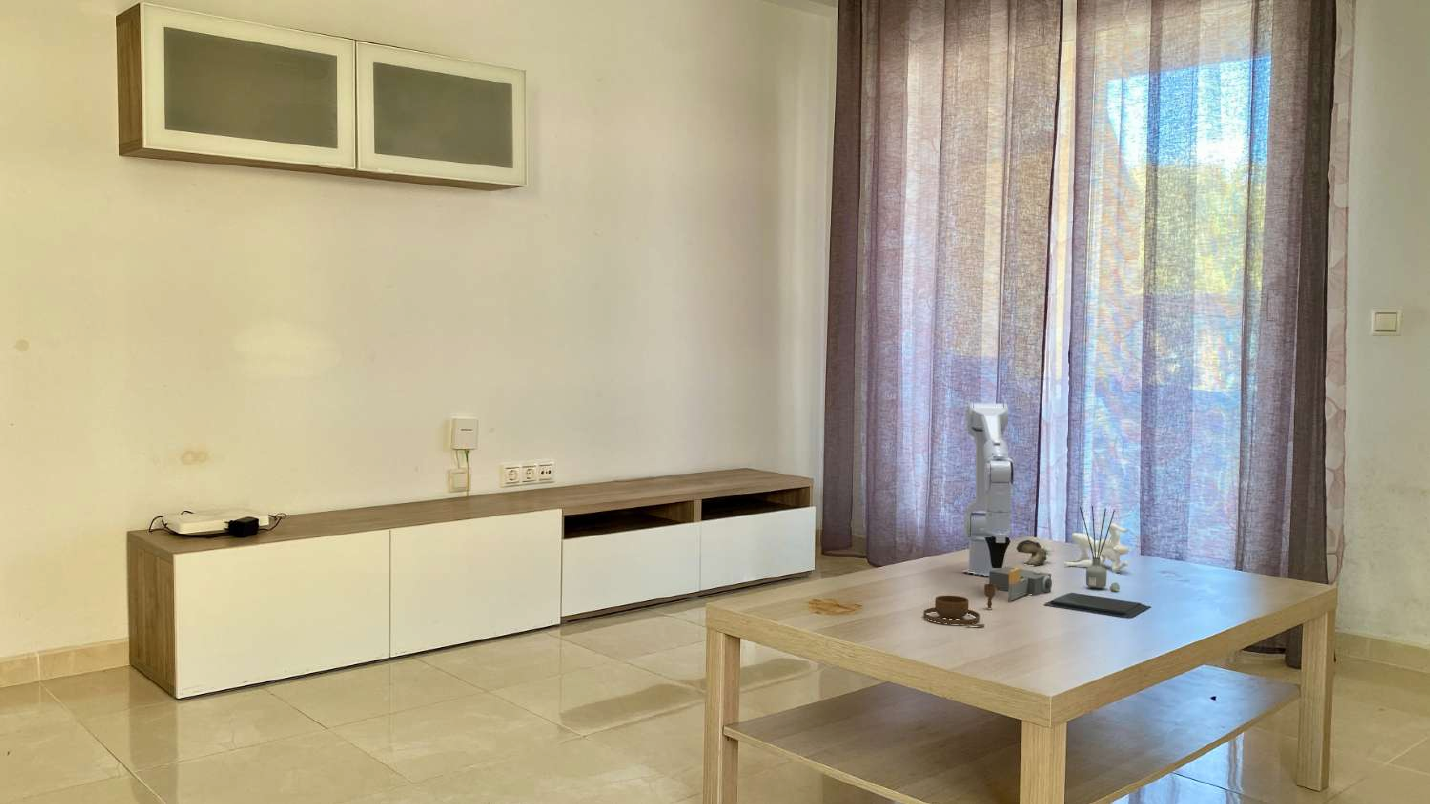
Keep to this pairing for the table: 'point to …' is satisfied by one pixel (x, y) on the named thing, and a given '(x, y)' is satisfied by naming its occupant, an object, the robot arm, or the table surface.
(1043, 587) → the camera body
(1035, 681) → the table surface
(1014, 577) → the side hatch
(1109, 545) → the person figurine
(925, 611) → the place setting
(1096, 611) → the wallet
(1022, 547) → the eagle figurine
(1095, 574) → the reed diffuser
